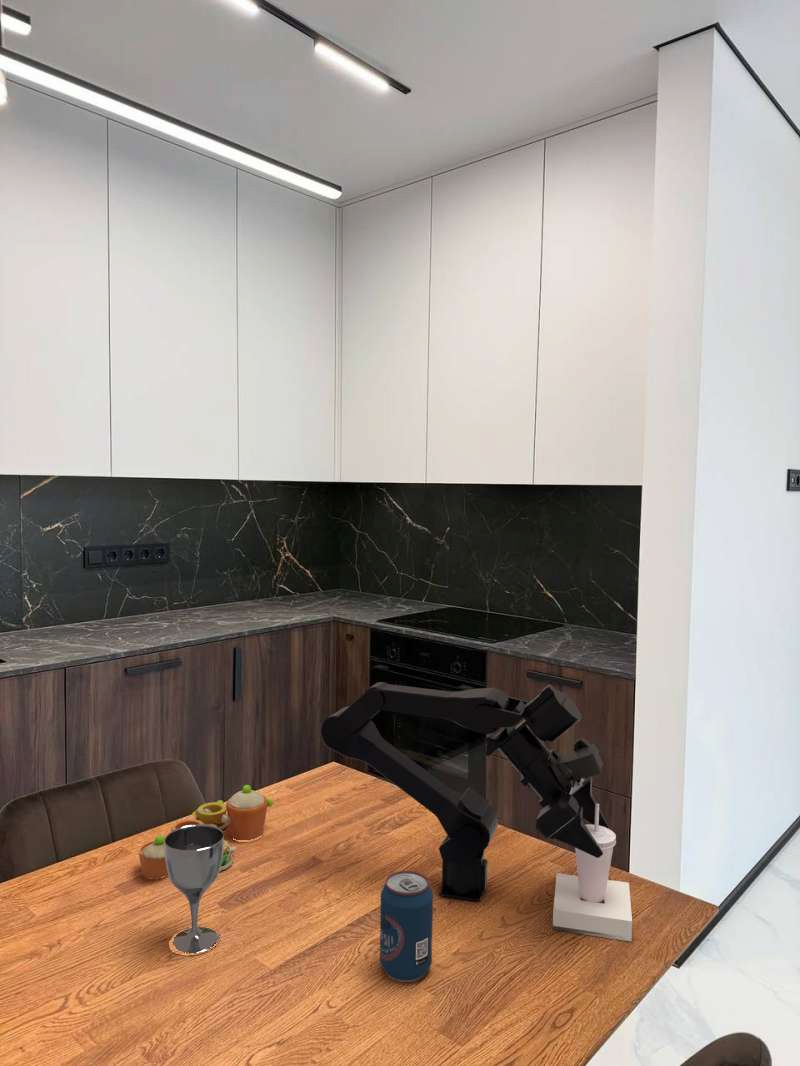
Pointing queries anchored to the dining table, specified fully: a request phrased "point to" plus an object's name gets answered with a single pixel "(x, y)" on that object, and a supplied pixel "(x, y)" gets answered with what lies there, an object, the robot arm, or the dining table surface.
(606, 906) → the flat gift box
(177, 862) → the wine glass
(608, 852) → the smoothie
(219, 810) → the toy tea set
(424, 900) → the soda can
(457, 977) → the dining table surface
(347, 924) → the dining table surface
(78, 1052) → the dining table surface
